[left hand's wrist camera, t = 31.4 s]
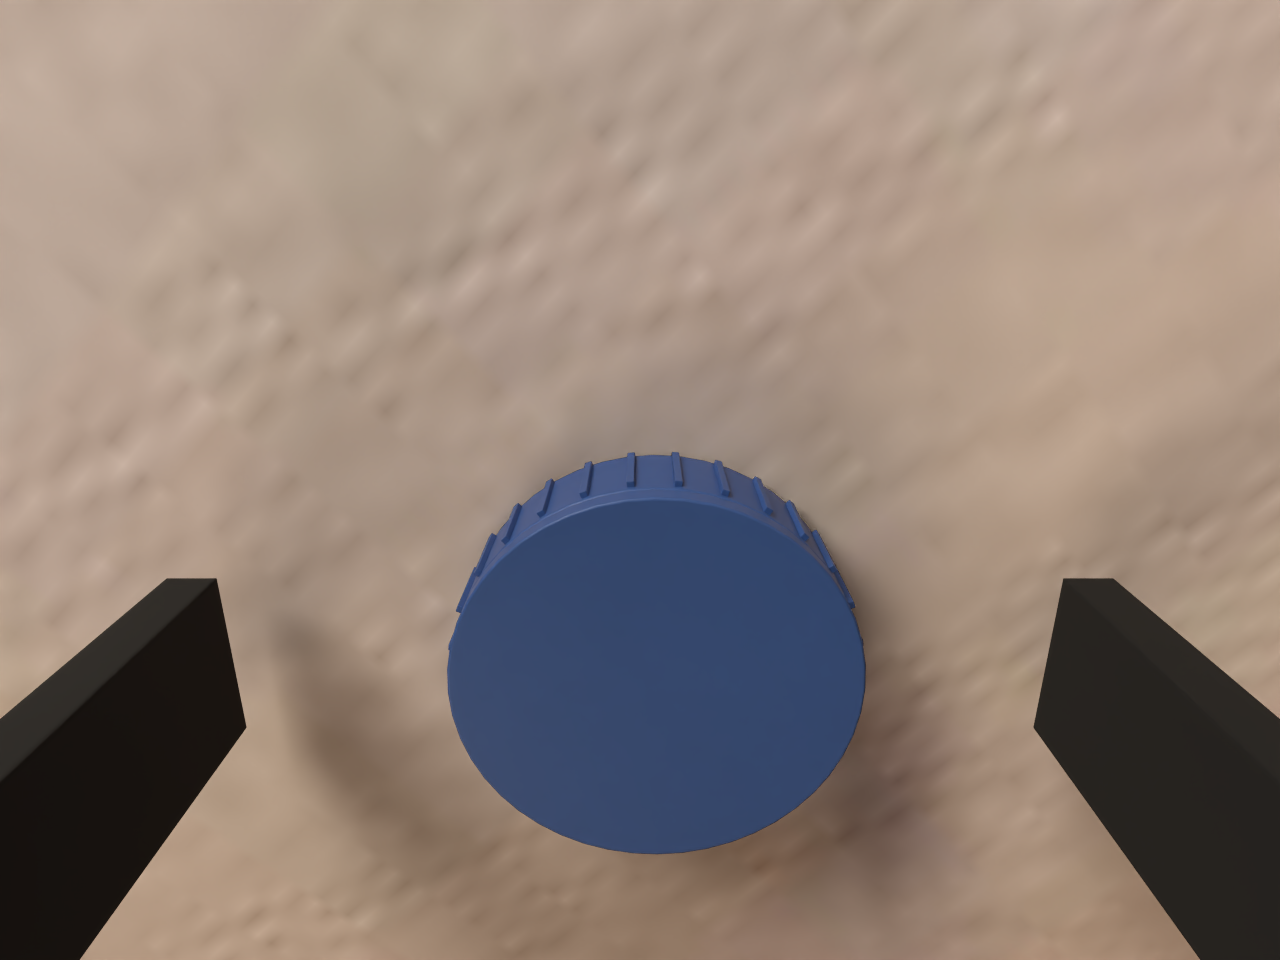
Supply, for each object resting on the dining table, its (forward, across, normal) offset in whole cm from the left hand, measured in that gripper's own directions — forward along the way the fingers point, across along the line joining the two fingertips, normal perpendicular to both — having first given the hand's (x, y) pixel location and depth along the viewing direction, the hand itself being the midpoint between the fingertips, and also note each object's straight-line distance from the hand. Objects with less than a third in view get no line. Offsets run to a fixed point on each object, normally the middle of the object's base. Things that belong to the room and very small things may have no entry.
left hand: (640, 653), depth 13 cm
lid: (-1, 0, 0) cm, 1 cm away
